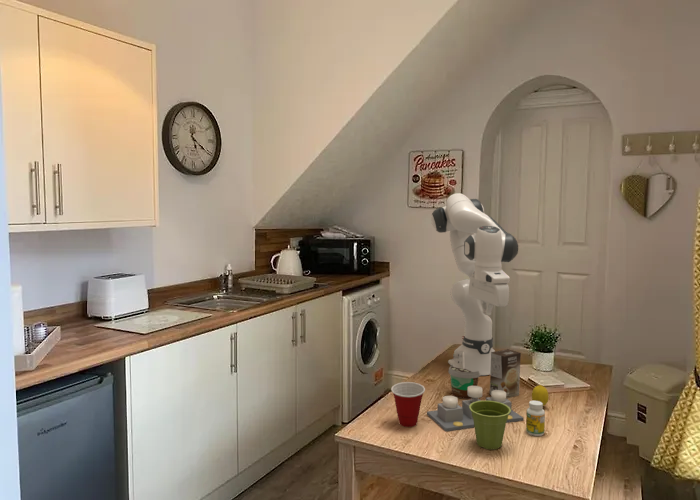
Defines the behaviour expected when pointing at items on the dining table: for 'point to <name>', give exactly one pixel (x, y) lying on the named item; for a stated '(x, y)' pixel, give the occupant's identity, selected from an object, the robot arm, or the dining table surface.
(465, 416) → the button board
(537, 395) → the lemon
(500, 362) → the coffee box
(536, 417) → the supplement bottle
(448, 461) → the dining table surface
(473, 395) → the button
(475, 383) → the food container
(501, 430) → the plant pot
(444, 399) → the button
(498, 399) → the button
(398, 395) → the plastic cup
